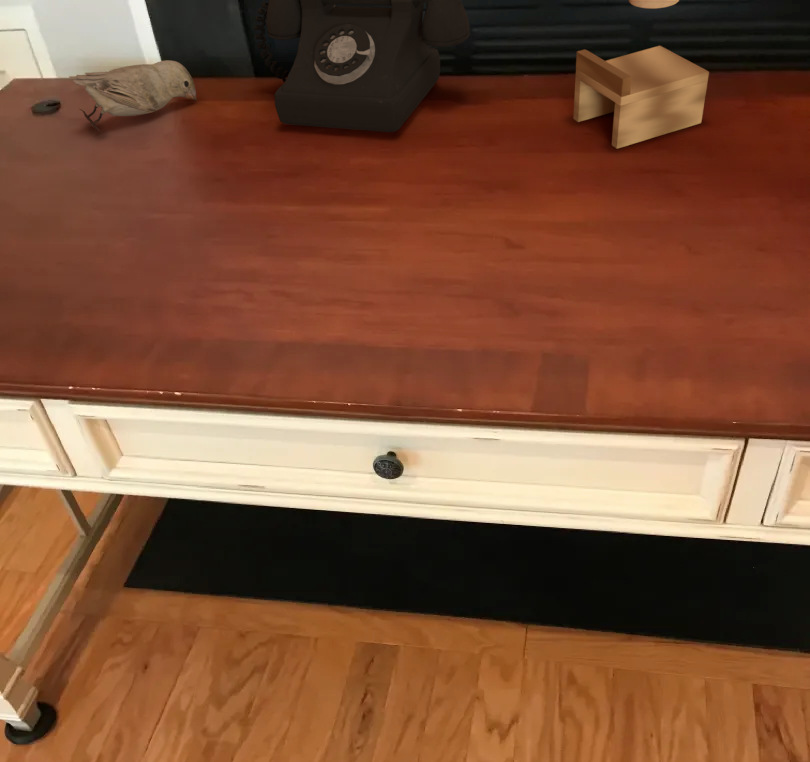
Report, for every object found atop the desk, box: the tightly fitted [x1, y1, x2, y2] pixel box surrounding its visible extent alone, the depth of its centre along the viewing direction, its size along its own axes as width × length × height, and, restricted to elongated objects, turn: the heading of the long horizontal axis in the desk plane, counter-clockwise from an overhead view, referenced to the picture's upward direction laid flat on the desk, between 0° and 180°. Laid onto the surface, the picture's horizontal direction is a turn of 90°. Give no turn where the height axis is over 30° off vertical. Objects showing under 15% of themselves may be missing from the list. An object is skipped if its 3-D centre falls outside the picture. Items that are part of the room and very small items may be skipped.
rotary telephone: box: [253, 0, 471, 133], centre depth 116 cm, size 30×17×15 cm, turn 70°
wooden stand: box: [572, 45, 710, 149], centre depth 109 cm, size 12×10×8 cm
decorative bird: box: [68, 59, 197, 135], centre depth 123 cm, size 5×16×7 cm, turn 119°
